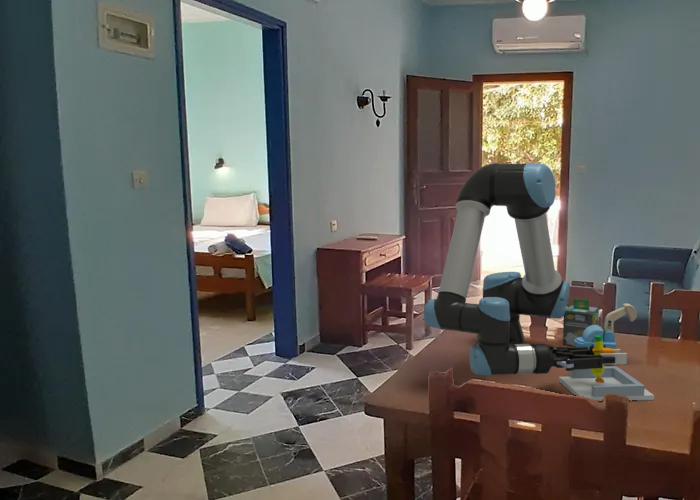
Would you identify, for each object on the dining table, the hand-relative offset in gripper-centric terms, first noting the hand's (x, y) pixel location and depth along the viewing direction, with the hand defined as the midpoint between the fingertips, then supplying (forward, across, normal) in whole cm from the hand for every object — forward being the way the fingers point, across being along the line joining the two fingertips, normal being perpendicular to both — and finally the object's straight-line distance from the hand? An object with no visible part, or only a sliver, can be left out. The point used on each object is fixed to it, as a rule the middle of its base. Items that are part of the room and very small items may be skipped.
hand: (622, 356), depth 160 cm
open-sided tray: (-4, 0, -9) cm, 10 cm away
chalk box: (+6, -42, -9) cm, 43 cm away
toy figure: (-5, 0, -7) cm, 9 cm away
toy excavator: (+6, -24, -9) cm, 26 cm away
